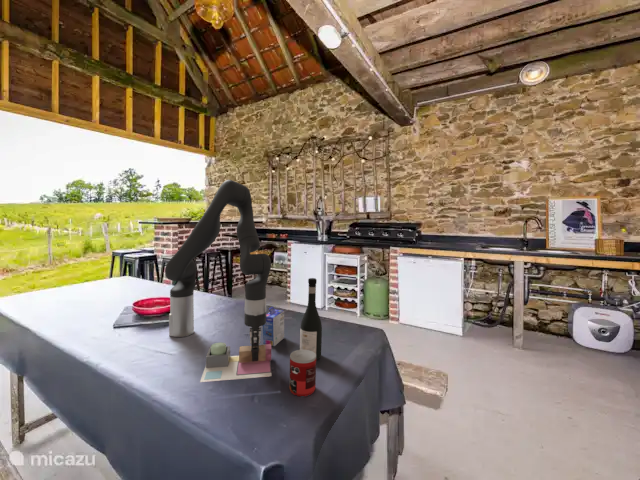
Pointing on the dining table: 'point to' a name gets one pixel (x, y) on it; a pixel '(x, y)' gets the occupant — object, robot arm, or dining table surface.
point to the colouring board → (237, 370)
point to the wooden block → (263, 353)
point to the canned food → (302, 372)
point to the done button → (218, 349)
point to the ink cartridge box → (273, 327)
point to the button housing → (218, 359)
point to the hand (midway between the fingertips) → (255, 357)
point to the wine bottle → (311, 324)
